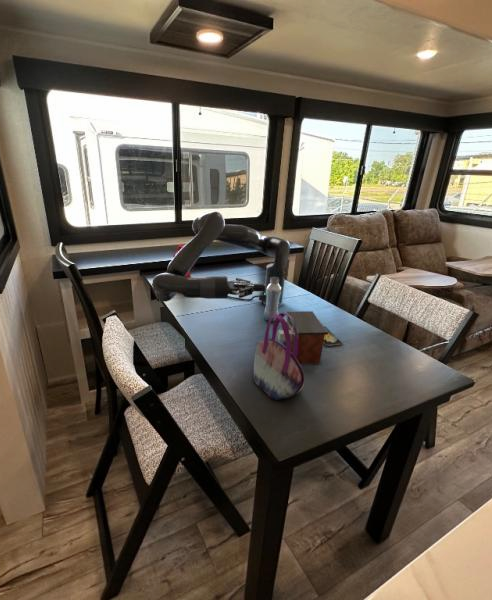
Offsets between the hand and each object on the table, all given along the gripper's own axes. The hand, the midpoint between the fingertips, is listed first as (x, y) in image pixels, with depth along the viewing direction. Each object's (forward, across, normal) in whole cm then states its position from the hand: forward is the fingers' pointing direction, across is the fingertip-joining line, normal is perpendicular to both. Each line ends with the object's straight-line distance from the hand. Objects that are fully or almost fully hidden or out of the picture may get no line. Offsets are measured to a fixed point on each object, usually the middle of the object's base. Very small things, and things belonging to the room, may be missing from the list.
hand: (264, 287), depth 106 cm
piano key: (+10, 0, +20) cm, 23 cm away
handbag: (+2, -19, +26) cm, 33 cm away
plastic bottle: (+10, +27, +26) cm, 39 cm away
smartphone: (+29, +11, +26) cm, 41 cm away
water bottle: (-31, +63, +26) cm, 75 cm away
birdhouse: (+16, 0, +26) cm, 31 cm away
